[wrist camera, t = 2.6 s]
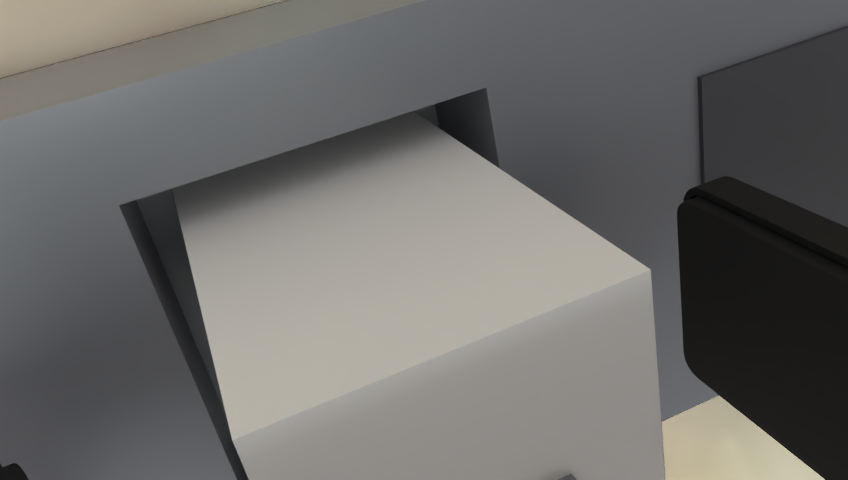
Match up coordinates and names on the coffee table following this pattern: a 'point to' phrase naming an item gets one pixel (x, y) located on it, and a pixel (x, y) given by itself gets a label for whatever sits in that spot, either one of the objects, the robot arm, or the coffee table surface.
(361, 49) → the power strip
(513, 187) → the block
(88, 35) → the coffee table surface
